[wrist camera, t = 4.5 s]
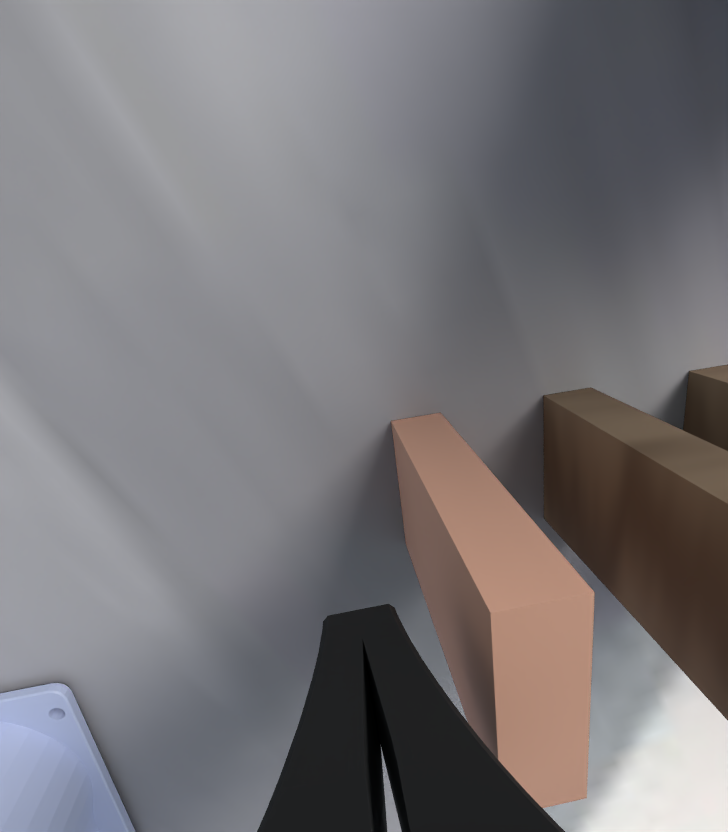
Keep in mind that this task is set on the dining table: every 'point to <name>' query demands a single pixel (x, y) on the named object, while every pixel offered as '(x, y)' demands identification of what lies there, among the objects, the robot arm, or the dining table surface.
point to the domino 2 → (645, 523)
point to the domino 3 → (708, 405)
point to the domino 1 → (500, 610)
